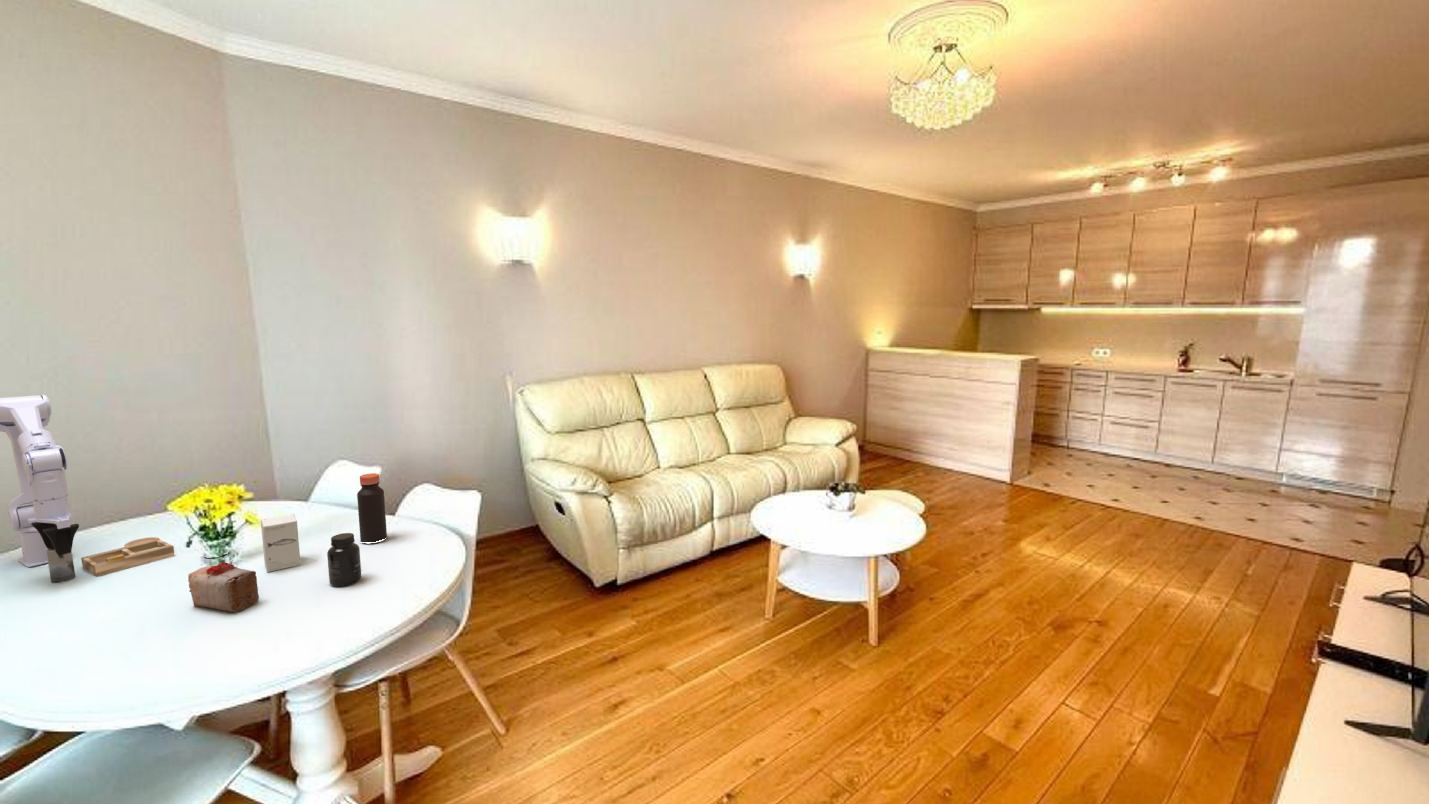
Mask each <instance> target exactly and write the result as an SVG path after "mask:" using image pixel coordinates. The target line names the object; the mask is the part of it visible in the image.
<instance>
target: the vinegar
mask: <svg viewBox="0 0 1429 804" xmlns="http://www.w3.org/2000/svg"><path fill="white" fill-rule="evenodd" d="M359 484H360V486H361V488H360V489H359V491H357V494H356V498H357V511H358V525H359V539H360V543H361V542H376V541H379V540H382V539H385V538H386V537H387V538H388V534H387V531H388V530H387V519H386V518H387V517H386V503H385V489H383V488H382V487H380V486H379V484H380V474H379V473H376V472H375V473H365V474H364V473H363V474H361V475H359ZM385 540H386V539H385Z"/></svg>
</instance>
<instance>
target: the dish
mask: <svg viewBox="0 0 1429 804" xmlns="http://www.w3.org/2000/svg"><path fill="white" fill-rule="evenodd" d="M155 539H160V538H159V537H156V536H154V537H151V536H150V537H143V538H139V539H138V538H137V539H134V540H131V541H129V542H127V543H124V545H123V547H126V546H131V545H135V544H139V543H143V542H147V541H151V540H155Z"/></svg>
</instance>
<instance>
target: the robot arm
mask: <svg viewBox="0 0 1429 804" xmlns="http://www.w3.org/2000/svg"><path fill="white" fill-rule="evenodd" d="M51 415H52V406H51V401H50V399H49V397H48V396H47V395H46V394H40V395H39V394H38V395H25V396H10V397H9V396H8V397H0V432H2V433H5V434H6V435H7V437H8V438H9V440H10V443H11V444H10V445H11V447H12V452H13V457H14V458H13V459H14V462H15V467H16V471H17V477H18V481H19V485H20V490H21V493H19V495H17V496H16V497H14V498H12V499H11V500H9V502H8V504H7V515H8V521H9V524H10V528H11V530H12V531H15V532H19V533H20V535H19V540H20V547H21V553H22V557H17V561H18V562H20V563H21V564H23V565H24V566H26V567H27V568H32V567H37V566H40V565H44V564H45V565H46V564H48V559H47V552H46V551H47V550H49V549H51V548H54V549H55V552H56V553H57V555H63V554H67V553H71V550H72V549H73V542H74V538H75V535H76V533H77V531H78V530H79V527H80V524H79V523H73V524H71V521H70V519H71V518H72V517H73V514H74V513H73V511H72V510H71V504H70V496H69V490H68V484H67V477H66V470H67V469H68V459H67V458H68V457H67V454H66V452H65V450H64V448H63V447H62V446H61V445H60V444H59V445H58V444H57V442H56V440H55V437H54V434H53V433H52V432H51V431H49V430H47V429H44V428H45V427H47V426H49V423H50V420H51ZM27 504H28V505H27ZM72 551H73V550H72ZM72 557H73V554H72Z"/></svg>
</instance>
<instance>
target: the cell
mask: <svg viewBox="0 0 1429 804" xmlns="http://www.w3.org/2000/svg"><path fill="white" fill-rule="evenodd" d="M72 551H73V550H71V553H67V554H63V555H57V553H56V552H55V549H54V548H51V549H49V550H47V551H46V552H47V559H48V563H47V564H48V570H49V576H50V583H52V584H58V583H59V584H60V583H64V582H69V581H71V580H74V579H75V578H76V571H75V570H76V569H75V565H74V558H73V557H72V555H73V552H72Z"/></svg>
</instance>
